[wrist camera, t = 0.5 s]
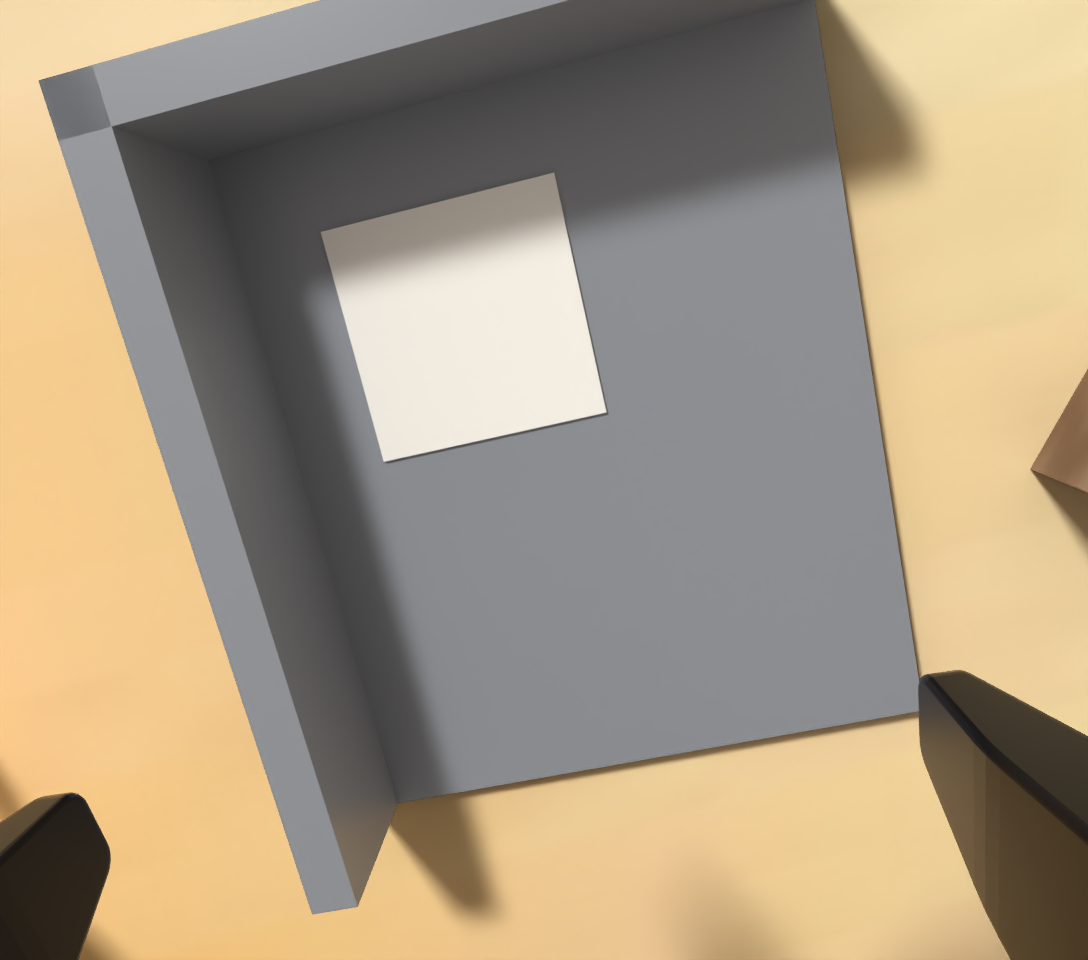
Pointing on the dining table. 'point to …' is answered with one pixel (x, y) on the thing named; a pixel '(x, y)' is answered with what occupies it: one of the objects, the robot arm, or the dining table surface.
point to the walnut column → (1068, 444)
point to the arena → (501, 386)
